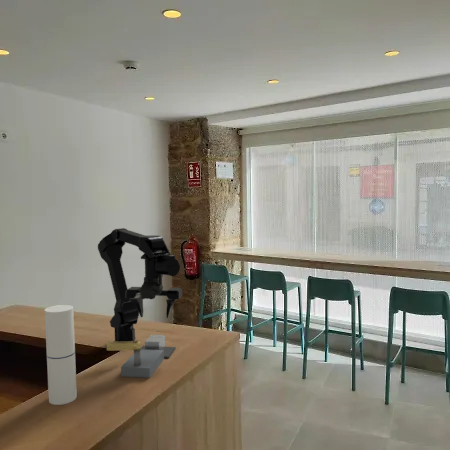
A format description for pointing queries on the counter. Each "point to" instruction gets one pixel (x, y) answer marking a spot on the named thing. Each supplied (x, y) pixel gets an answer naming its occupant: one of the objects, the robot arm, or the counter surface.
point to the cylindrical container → (60, 354)
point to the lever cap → (155, 342)
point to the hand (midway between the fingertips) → (154, 317)
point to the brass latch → (124, 345)
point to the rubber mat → (166, 351)
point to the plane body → (142, 363)
